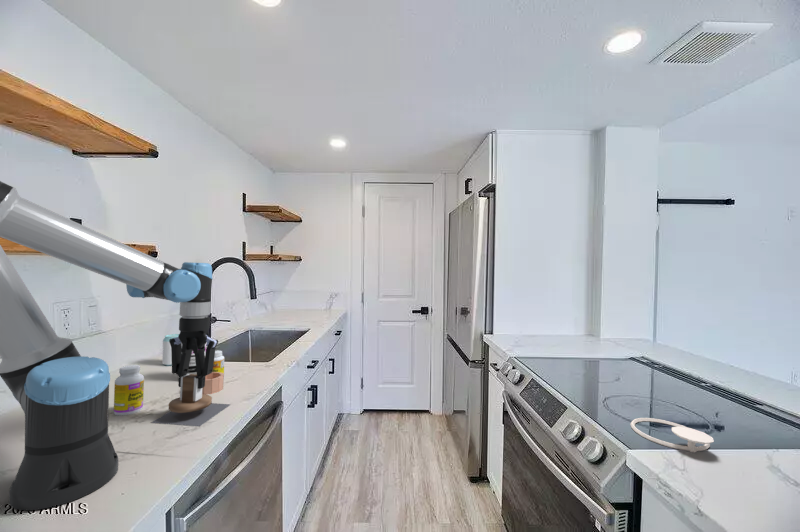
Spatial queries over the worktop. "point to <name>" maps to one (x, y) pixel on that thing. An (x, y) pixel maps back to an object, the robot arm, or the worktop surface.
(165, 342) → the can
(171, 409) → the lid
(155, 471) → the worktop surface
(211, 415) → the mat
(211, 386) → the bowl
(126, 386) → the supplement bottle
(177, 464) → the worktop surface
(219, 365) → the supplement bottle
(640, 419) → the hand towel holder
